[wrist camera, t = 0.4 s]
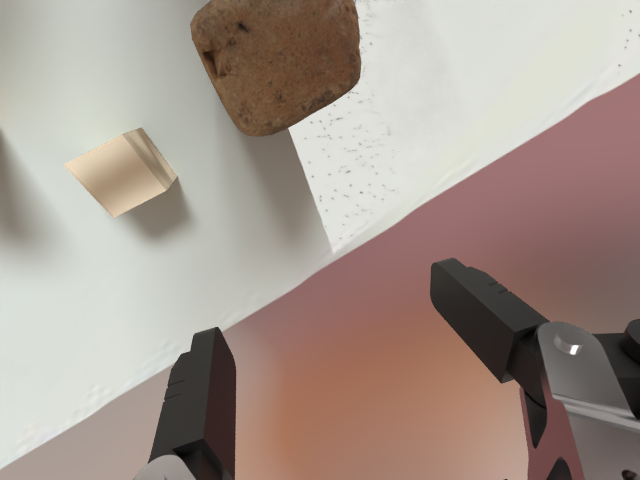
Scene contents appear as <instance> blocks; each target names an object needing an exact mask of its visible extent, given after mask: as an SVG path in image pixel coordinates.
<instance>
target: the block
mask: <svg viewBox="0 0 640 480" xmlns="http://www.w3.org/2000/svg"><path fill="white" fill-rule="evenodd" d="M190 25H191V33H192V40H193V42H194V44H195V46H196V49H197V51H198V53H199V56H200V58H201V60H202V62H203V65H204V67H205V69H206V71H207V74H208V76H209V78H210V80H211V82H212V84H213V86H214V88H215V90H216V92H217V93H218V95H219V97H220V99H221V101H222V103H223V105H224V107H225V109H226V111H227V112H228V114H229V116H230V117H231V119H232V120H233V122H234V124H235V125H236V126H237V128H238V129H239V130H241V131H242V132H243V133H245V134H246V135H250V136H267V135H272V134H274V133H277V132H280V131H282V130H285V129H287V128H289V127H290V126H292V125H294V124H296V123H298V122H300V121H301V120H303V119H304V118H306V117H308V116H309V115H311V114H313V113H315V112H316V111H318V110H320V109H322V108H324V107H326V106H327V105H329V104H331V103H333V102H334V101H336V100H337V99H339V98H340V97H342V96H343V95H344V94H346V93H347V92H349V91H350V90H351V89H352V88H353V87H354V86H355V85H356V84H357V82H358V81H359V78H360V72H361V57H360V51H359V42H360V34H359V24H358V14H357V10H356V6H355V2H354V1H353V0H211V1H210V2H209V3H208V4H207V5H205V6H204V7H203V8H202V9H201V10H199V11H198V12H197V13H196V14H195V16H194V18H193V20H192V22H191V24H190Z"/></svg>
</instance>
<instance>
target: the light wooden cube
mask: <svg viewBox="0 0 640 480" xmlns="http://www.w3.org/2000/svg"><path fill="white" fill-rule="evenodd" d="M64 166H65V167H66V168H67V169H68V170H69V172H70V173H71V174H72V175H73V176H74V177H75V178H76V179H77V180H78V181H79V182H80V183H81V184H82V185H83V186H84V187H85V188H86V190H87V191H88V192H89V193H90V194H91V195H92V196H93V197H94V198H95V199H96V200H97V201H98V202H99V203H100V204H101V205H102V206H103V208H104V209H105V210H106V211H107V212H108V213H109V214H110V215H111V216H112V217H113V218H115V217H117V216H119V215H121V214H123V213H125V212H126V211H128V210H130V209H132V208H134V207H136V206H138V205H140V204H142V203H144V202H146V201H148V200H150V199H151V198H153V197H155V196H157V195H159V194H161V193H163V192H165V191H167V189H168V188H169V187H170V185H171V184H172V183H173V181H174V180H175V179H176V177H177V175H176V173H175V172H174V171H173V169H172V168H171V167H170V165H169V164H168V163H167V161H166V160H165V158H164V157H163V156H162V154H161V153H160V152H159V150H158V149H157V148H156V146H155V145H154V144H153V142H152V141H151V139H150V138H149V137H148V135H147V134H146V133H145V131H144V130H143V129H142V128H139V129H136V130H133V131H130V132H128V133H125V134H122V135H120V136H118V137H116V138H114V139H112V140H110V141H108V142H106V143H105V144H103V145H101V146H99V147H97V148H95V149H93V150H91V151H89V152H87V153H85V154H83V155H81V156H79V157H77V158H76V159H74V160H72V161H70V162H68V163H66V164H64Z"/></svg>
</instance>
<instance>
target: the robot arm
mask: <svg viewBox="0 0 640 480" xmlns="http://www.w3.org/2000/svg"><path fill="white" fill-rule="evenodd" d="M430 296H431V301H432V303H433V305H434V307H435V309H436V310H437V311H438V312H439V313H440V314H441V315H442V317H443V318H444V319H445V320H446V321H447V322H448V323H449V325H450V326H451V327H452V328H453V329H454V330H455V331H456V333H457V334H458V335H459V336H460V337H461V338H462V339H463V341H464V342H465V343H466V344H467V345H468V346H469V347H470V349H471V350H472V351H473V352H474V353H475V354H476V355H477V356H478V358H479V359H480V360H481V361H482V362H483V363H484V365H485V366H486V367H487V368H488V369H489V370H490V371H491V372H492V374H493V375H494V376H495V377H496V378H497V379H498V380H499V382H500V383H505V382H508V381H511V380H513V379H515V380H516V381H517V382H518V383H519V384H520V389H519V392H520V400H521V406H522V413H523V420H524V427H525V433H526V440H527V447H528V456H529V462H528V480H640V319H636V320H633V321H631V322H630V323H629V324H628V326H627V328H626V329H625V331H624V333H612V334H590V333H589V332H587V331H585V330H584V329H582V328H580V327H577V326H575V325H572V324H568V323H564V322H550V321H549V320H547V319H546V318H545V317H543V316H542V315H541V314H539V313H538V312H537V311H535V310H534V309H533V308H531V307H530V306H529V305H528V304H526V303H525V302H524V301H522V300H521V299H520V298H518V297H517V296H516V295H514V294H513V293H512V292H510V291H508V290H507V289H506V288H505V287H504V286H502V285H501V284H498V282H497V281H496V280H495V279H493V278H492V277H491V276H489V275H488V274H487V273H485V272H483V271H480V270H478V269H475V268H473V267H468V268H467V267H466V266H464V265H463V264H462V263H460V262H459V261H458V260H457V259H455V258H449V259H445V260H442V261H439V262H435V263H433V264H432V266H431V284H430ZM164 399H165V402H163V406H162V410H161V414H160V418H159V422H158V426H157V430H156V435H155V439H154V443H153V447H152V451H151V455H150V458H149V461H148V464H147V465H146V466H145V467H144V468H142V470H141V471H140V472H139V473H138V474H137V475H136V476H135V477H134V479H133V480H235V423H236V422H235V420H236V419H235V418H236V366H235V361H234V358H233V355H232V353H231V351H230V349H229V347H228V345H227V343H226V341H225V339H224V337H223V335H222V332H221V330H220V329H219V328H218V327H215V328H211V329H208V330H205V331H201V332H198V333H195V334H194V336H193V339H192V345H191V350H190V352H186V353H183V354H181V355H180V357H179V358H178V360H177V361H176V363H175V365H174V366H173V368H172V369H171V373H170V378H169V381H168V388H167V390H166V394H165V398H164ZM505 480H507V479H505Z"/></svg>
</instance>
